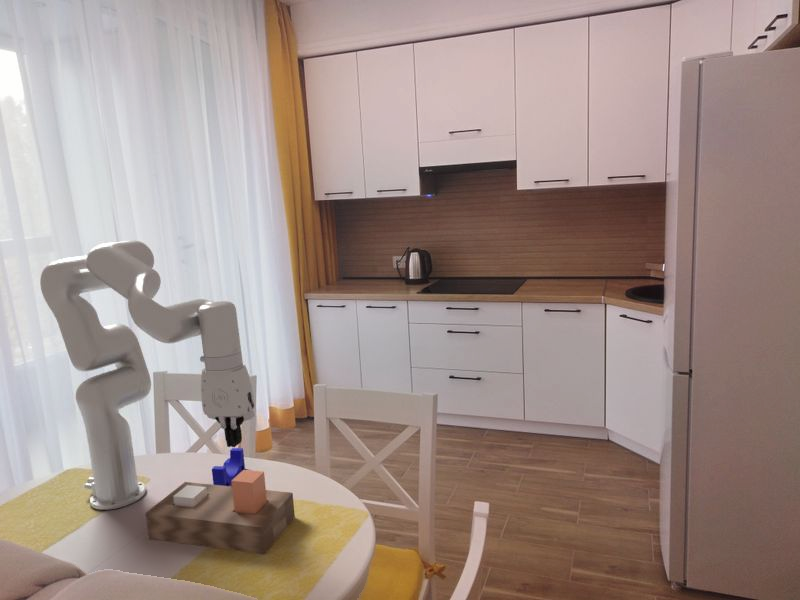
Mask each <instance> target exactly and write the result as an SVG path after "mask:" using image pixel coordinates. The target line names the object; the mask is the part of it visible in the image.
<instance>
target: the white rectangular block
mask: <svg viewBox="0 0 800 600" xmlns="http://www.w3.org/2000/svg"><path fill="white" fill-rule="evenodd" d="M173 497H174V505H176V506H185V507H194V508H195V507H196V506H197V505H198V504H199V503H200V502H201V501H203V500H204V499H205V498H206V497H207V489H206V487H201V486H191V485H187V486H185V487H184V488H183V489H182V490H180V491H179V492H178V493H177V494H175V495H174V496H173Z"/></svg>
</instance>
